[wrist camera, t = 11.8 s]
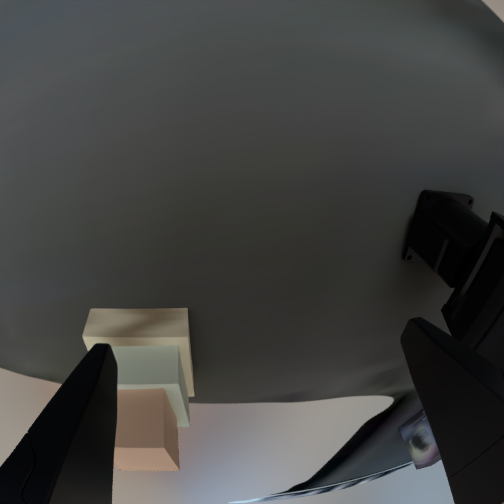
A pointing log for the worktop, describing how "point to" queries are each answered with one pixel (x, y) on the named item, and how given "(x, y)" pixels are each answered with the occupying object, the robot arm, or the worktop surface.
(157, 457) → the terracotta cube
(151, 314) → the tower base
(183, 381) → the tower top
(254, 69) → the worktop surface
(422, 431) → the small box
